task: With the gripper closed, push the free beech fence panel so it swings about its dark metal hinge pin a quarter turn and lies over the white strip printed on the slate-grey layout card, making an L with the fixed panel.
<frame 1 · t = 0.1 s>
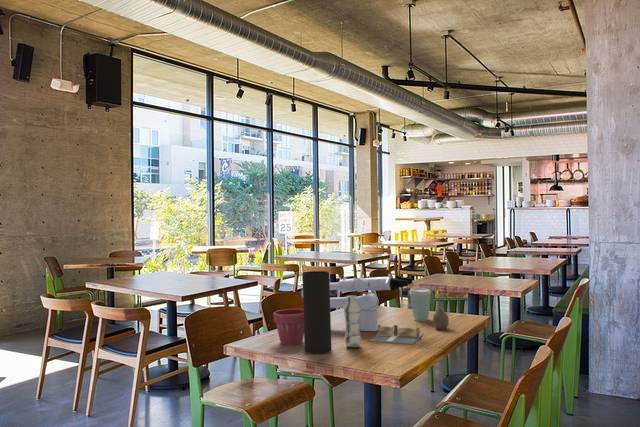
hand: (409, 282, 233), 22 cm above the table, tool horizontal, fingers open, 7 cm apart
plastic bottle: (353, 347, 210), on the table
vase: (441, 329, 238), on the table
plant pot: (291, 343, 220), on the table
fence fixed: (395, 336, 225), resting on layout card
fence panel: (408, 331, 223), point 3 cm above the table, hinge at 0.0°
layout card: (396, 337, 223), on the table
disposable coffee cup: (420, 320, 258), on the table
vase 2: (318, 351, 206), on the table
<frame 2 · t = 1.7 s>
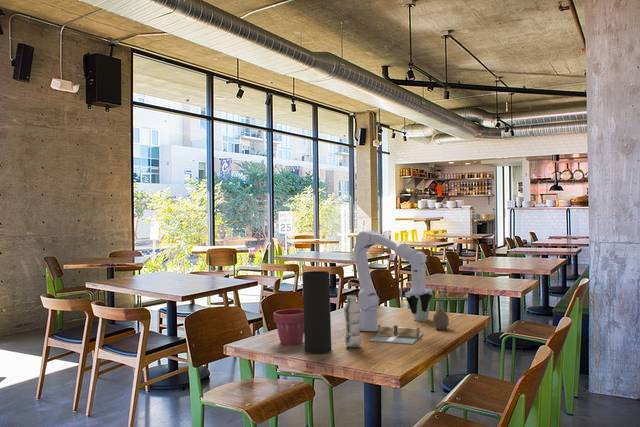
hand: (419, 312, 227), 9 cm above the table, tool pointing down, fingers open, 6 cm apart
nothing on the table moved.
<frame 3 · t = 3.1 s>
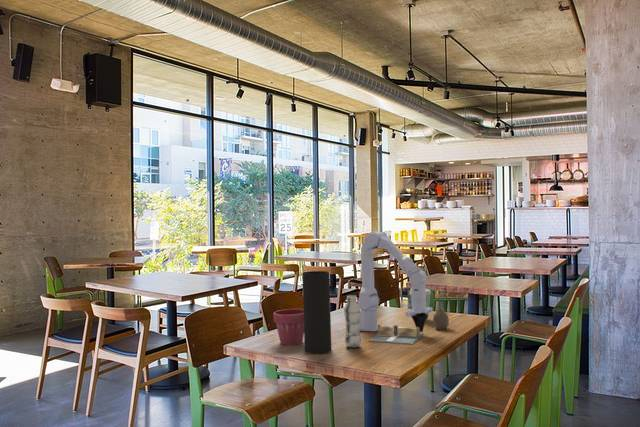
hand: (419, 331, 227), 1 cm above the table, tool pointing down, fingers closed
nothing on the table moved.
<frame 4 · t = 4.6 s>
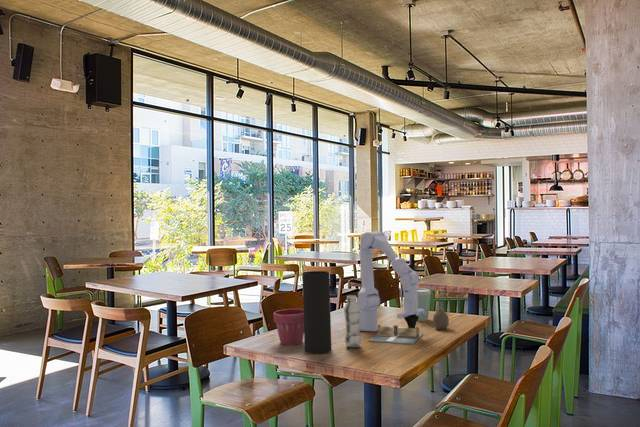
hand: (411, 333, 224), 1 cm above the table, tool pointing down, fingers closed, pressing on fence panel
fence panel: (408, 331, 223), point 3 cm above the table, hinge at -2.7°, touching gripper
everything else where it was.
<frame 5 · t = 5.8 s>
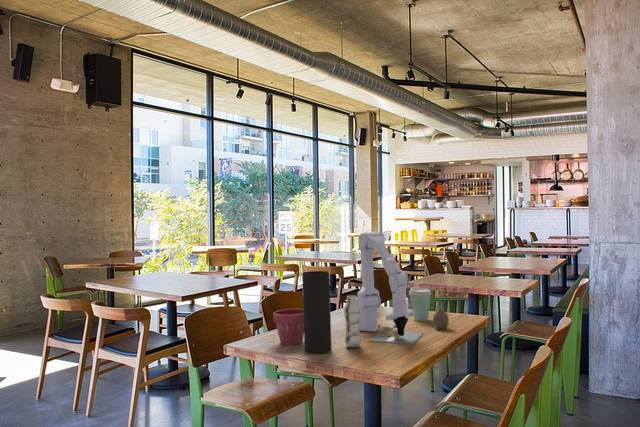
hand: (400, 335, 220), 2 cm above the table, tool pointing down, fingers closed, pressing on fence panel
fence panel: (396, 333, 220), point 3 cm above the table, hinge at -73.3°, touching gripper
everything else where it was.
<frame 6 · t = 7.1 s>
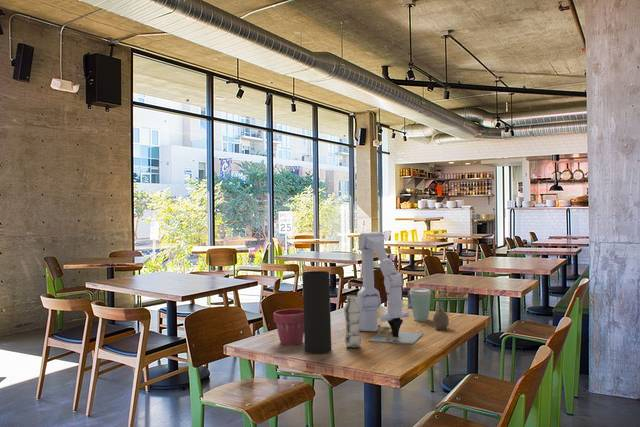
hand: (395, 337, 218), 1 cm above the table, tool pointing down, fingers closed
fence panel: (391, 333, 220), point 3 cm above the table, hinge at -94.3°, touching gripper
everything else where it was.
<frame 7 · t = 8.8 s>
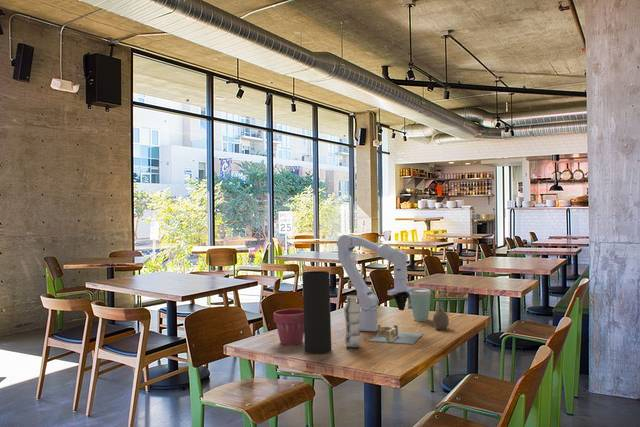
hand: (401, 309, 234), 9 cm above the table, tool pointing down, fingers closed
fence panel: (390, 333, 220), point 3 cm above the table, hinge at -94.4°
everything else where it was.
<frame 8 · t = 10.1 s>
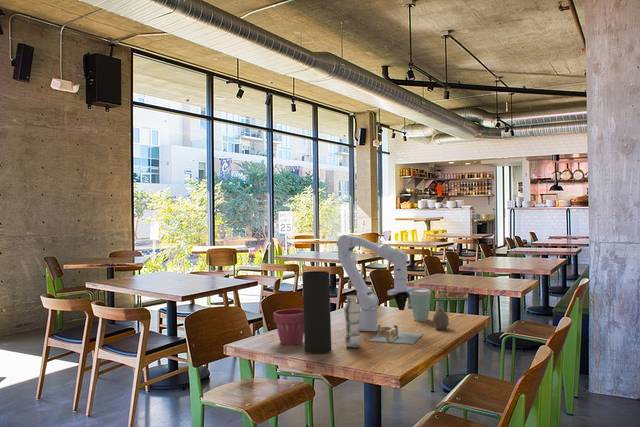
hand: (401, 309, 234), 9 cm above the table, tool pointing down, fingers closed
nothing on the table moved.
at the end: fence panel at -94° (first picture: +0°) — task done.
